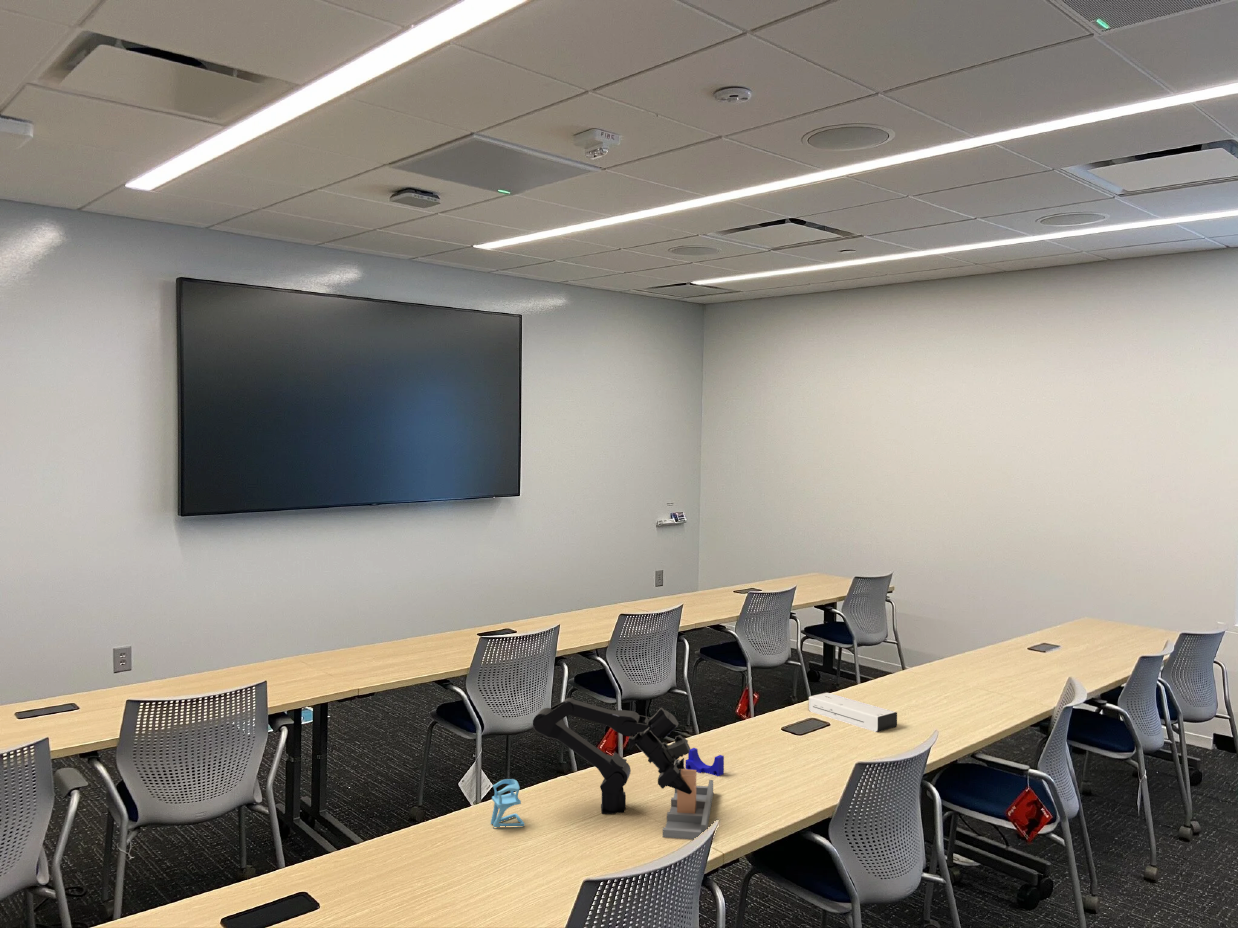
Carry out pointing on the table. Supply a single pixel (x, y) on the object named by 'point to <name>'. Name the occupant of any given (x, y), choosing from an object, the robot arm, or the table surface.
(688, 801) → the terracotta block
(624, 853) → the table surface
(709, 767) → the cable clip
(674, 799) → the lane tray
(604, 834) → the table surface
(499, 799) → the chair
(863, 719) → the laminator
